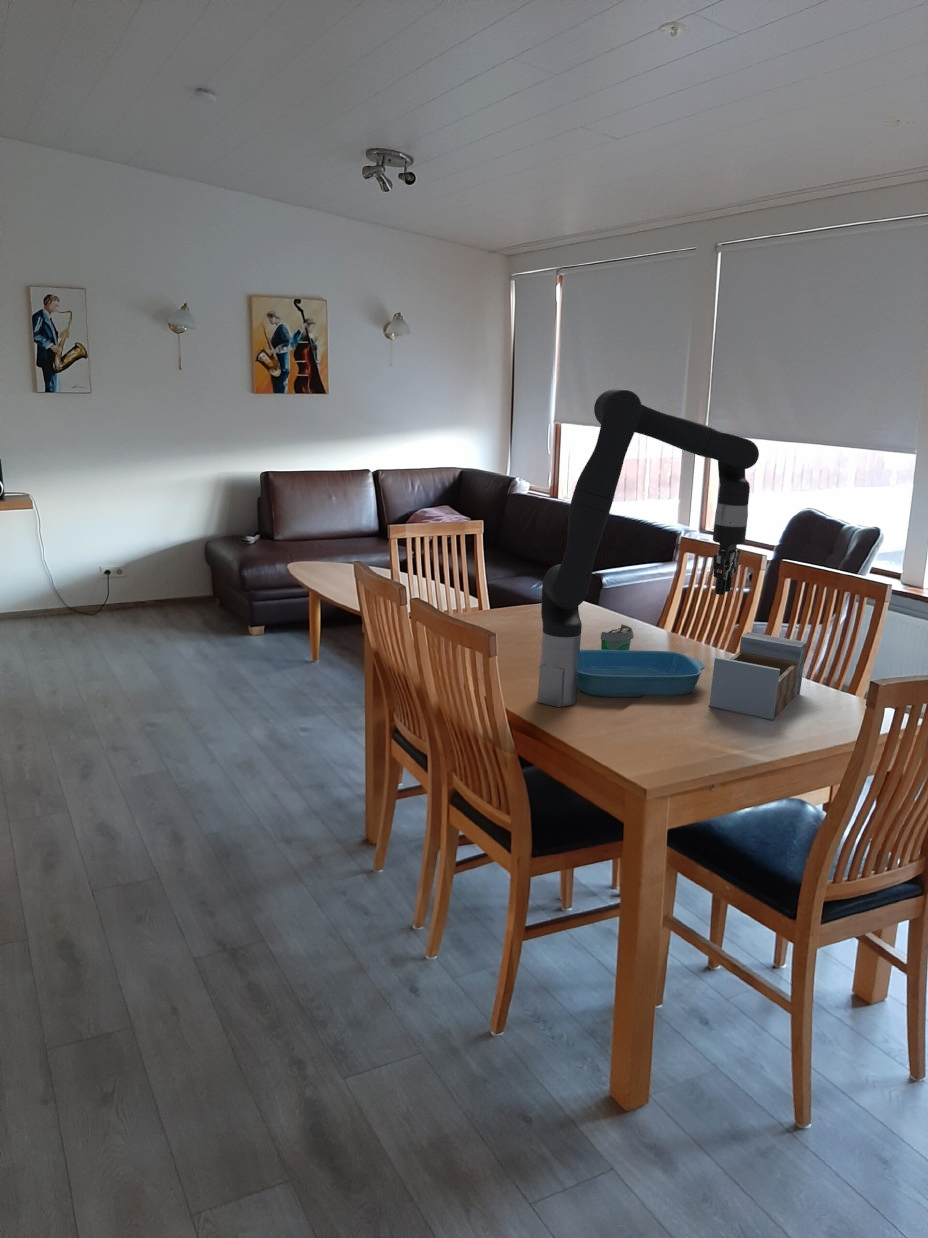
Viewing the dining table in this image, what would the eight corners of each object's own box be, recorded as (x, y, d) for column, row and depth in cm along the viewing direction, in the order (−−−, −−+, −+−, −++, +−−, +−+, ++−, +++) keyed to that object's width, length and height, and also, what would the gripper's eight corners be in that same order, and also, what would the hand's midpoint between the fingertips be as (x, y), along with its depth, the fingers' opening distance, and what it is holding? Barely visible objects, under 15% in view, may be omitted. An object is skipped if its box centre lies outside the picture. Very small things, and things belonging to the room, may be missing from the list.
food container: (618, 672, 255) (621, 636, 252) (598, 667, 258) (600, 632, 256) (639, 662, 264) (642, 628, 262) (619, 657, 268) (622, 623, 265)
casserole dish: (566, 700, 231) (568, 672, 229) (552, 672, 253) (554, 647, 251) (713, 703, 233) (716, 675, 232) (687, 675, 255) (690, 650, 253)
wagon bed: (773, 723, 221) (780, 665, 217) (710, 709, 228) (716, 653, 225) (799, 694, 242) (806, 642, 239) (741, 682, 250) (747, 631, 246)
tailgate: (773, 722, 219) (780, 670, 216) (707, 708, 227) (713, 657, 224) (774, 721, 220) (781, 669, 217) (709, 707, 228) (715, 656, 225)
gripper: (737, 527, 217) (729, 600, 222) (754, 521, 229) (746, 590, 233) (705, 524, 221) (698, 595, 225) (724, 518, 233) (716, 585, 237)
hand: (722, 592), depth 229 cm, fingers open, 4 cm apart
